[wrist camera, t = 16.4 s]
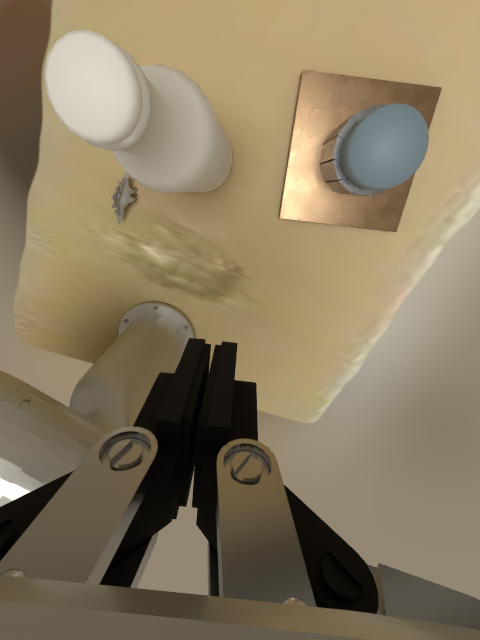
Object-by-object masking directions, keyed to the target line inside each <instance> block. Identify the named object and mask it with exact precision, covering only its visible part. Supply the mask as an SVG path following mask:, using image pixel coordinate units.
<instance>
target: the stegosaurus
mask: <svg viewBox="0 0 480 640" xmlns="http://www.w3.org/2000/svg"><path fill="white" fill-rule="evenodd" d="M118 182H119V181H118ZM135 192H137V188H135V189H134V190H133V189H131V188H130V185H129V175H128V174H127V173H126V174H125V178H124V180H123V179H122V182H119V186H118V187H116V192H115V193H114V195H113V196H112V197H111V198H112V199H113V200H114V201H115V202H114V204H113V206H112V208H114V207H116V208H117V209H116V210H115V212H114V214H115V213H118V214H117V217H118V218H117V219H118V220H119V223H120V221H121V219H122V216H123V212H124V208H125V207H126V206H127V205H128V204H129V203H133V202H134V201H135V199H136V198H137V195H136V196H135V198H133V197H132V196H131V194H134V193H135ZM119 223H118V225H119Z"/></svg>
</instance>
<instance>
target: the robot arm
mask: <svg viewBox="0 0 480 640" xmlns="http://www.w3.org/2000/svg"><path fill="white" fill-rule="evenodd" d="M156 306H157V307H158V308H157V307H156ZM185 325H186V326H188V327H186V326H185ZM210 351H211V344H205V339H196V338H195V334H194V330H193V327H192V325H191V323H190V322H189V320H188V319H187V318H186V316H185V315H184V314H183V313H182V312H180V311H179V310H178V309H176V308H174V307H172V306H171V305H168V304H165V303H161V302H145V303H141V304H138V305H136V306H134V307H133V308H131V309H130V310H129V311H128V312H127V313H126V314H125V315H124V316H123V317H122V319H121V321H120V324H119V328H118V338H117V339H116V340H115V341H114V342H113V343H112V344H111V345H110V347H109V348H108V349H107V350H106V351H105V352H104V353H103V354H102V356H101V357H100V358H99V359H98V360H97V361H96V362H95V363H94V365H93V366H92V367H91V368H90V369H89V370H88V371H87V373H86V374H85V375H84V376H83V377H82V378H81V379H80V381H79V382H78V384H77V385H76V387H75V389H74V391H73V394H72V397H71V401H70V407H69V408H68V407H67V406H65V405H63V404H61V403H60V402H58V401H56V400H55V399H53V398H51V397H50V396H48V395H46V394H44V393H43V392H41V391H39V390H38V389H36V388H34V387H32V386H31V385H29V384H27V383H25V382H23V381H21V380H20V379H18V378H16V377H14V376H12V375H10V374H8V373H6V372H3V371H0V640H480V600H478V599H477V598H474V597H472V596H469V595H467V594H464V593H461V592H458V591H455V590H452V589H450V588H447V587H444V586H442V585H439V584H436V583H433V582H430V581H427V580H424V579H422V578H419V577H416V576H413V575H411V574H408V573H405V572H402V571H400V570H397V569H394V568H391V567H388V566H386V565H383V564H380V563H379V564H378V566H377V568H376V567H373V566H370V565H368V564H366V563H365V561H364V560H363V559H362V558H361V557H360V556H359V555H358V553H357V552H356V551H355V550H354V549H353V548H352V547H350V546H349V545H348V544H347V543H346V542H345V541H344V540H343V539H342V538H341V537H340V536H339V535H338V534H337V533H335V532H334V531H333V530H332V529H331V528H330V527H329V526H328V525H327V524H326V523H325V522H324V521H323V520H321V519H320V518H319V517H318V516H317V515H316V514H315V513H314V512H313V511H312V510H311V509H310V508H308V507H307V505H305V504H304V503H303V502H302V501H301V500H300V499H299V498H298V497H297V496H296V495H295V494H294V493H293V492H291V491H290V490H289V489H288V488H287V487H286V486H285V485H284V484H283V481H282V477H281V473H280V469H279V465H278V462H277V460H276V458H275V455H274V454H273V452H272V451H271V450H270V449H269V448H268V447H267V446H265V445H264V444H262V443H260V442H258V432H257V431H258V428H257V393H256V383H255V382H246V381H237V380H234V378H235V366H236V354H237V343H232V342H223V341H222V344H221V345H215V349H214V353H213V358H212V362H211V367H210V371H209V363H210ZM176 368H177V369H176ZM175 369H176V371H175ZM174 371H175V373H174ZM194 466H195V470H194ZM193 471H194V485H193V500H192V507H194V508H198V510H197V522H196V524H197V526H198V527H199V529H200V530H201V532H202V533H203V534H204V536H205V537H206V538H207V540H208V596H206V595H196V594H186V593H177V592H167V591H157V590H146V589H137V587H138V584H139V582H140V580H141V577H142V575H143V572H144V570H145V567H146V565H147V563H148V560H149V558H150V555H151V553H152V550H153V548H154V545H155V543H156V540H157V536H158V531H160V530H161V529H162V528H164V527H165V526H166V525H168V524H169V523H170V522H171V521H172V519H176V518H177V513H178V509H179V506H185V507H186V505H187V501H188V496H189V490H190V485H191V481H192V476H193Z"/></svg>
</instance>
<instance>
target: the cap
mask: <svg viewBox="0 0 480 640" xmlns="http://www.w3.org/2000/svg"><path fill="white" fill-rule="evenodd" d="M428 140H429V135H428V128H427V124H426V122H425V120H424V118H423V116H422V115H421V114H420V112H419V111H417V110H416V109H415V108H413V107H412V106H409V105H406V104H398V103H397V104H390V105H386V106H384V107H381V108H380V109H378V110H376V111H375V112H373V113H371V114H370V115H368V116H367V117H365V118H363V119H362V120H360V121H359V122H358V123H356V124H355V125H354V126H353V127H352V128H351V130H350V131H349V132H348V134H347V136H346V137H345V139H344V142H343V144H342V148H341V154H340V162H341V168H342V171H343V173H344V175H345V177H346V178H347V179H348V180H349V181H350V182H351V183H352V184H354V185H355V186H358V187H360V188H390V187H394V186H397V185H399V184H401V183H403V182H404V181H406V180H407V179H408V178H410V177H411V176H412V175H413V174H414V173H415V172H416V170H417V169H418V168H419V166H420V165H421V163H422V161H423V159H424V157H425V154H426V151H427V147H428Z"/></svg>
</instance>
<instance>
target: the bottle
mask: <svg viewBox="0 0 480 640" xmlns="http://www.w3.org/2000/svg"><path fill="white" fill-rule="evenodd" d="M44 77H45V83H46V90H47V96H48V98H49V100H50V103H51V105H52V107H53V110H54V112H55V114H56V115H57V116H58V118H59V119H60V120H61V121H62V123H63V124H64V125H65V126H66V128H67V129H68V130H70V131H71V132H73V133H74V134H76V135H77V136H78V137H80V138H81V139H84V140H85V141H87V142H88V143H90V144H91V145H92V146H95V147H99V148H102V149H105V150H109V151H112V152H113V154H114V157H115V158H116V160H117V161H118V162H119V163H120V165H121V166H122V167H123V169H124V170H125V171H126V173H127V174H128V175H129V176H130V178H132V179H133V180H135V181H136V182H137V183H139V184H140V185H142V186H143V187H145V188H146V189H149V190H153V191H156V192H160V193H164V194H165V193H183V192H209V191H212V190H214V189H216V188H218V187H220V186H221V185H222V184H223V182H224V181H225V180H226V179H227V178H228V176H229V173H230V171H231V168H232V150H231V146H230V142H229V140H228V138H227V137H226V135H225V133H224V131H223V129H222V127H221V125H220V123H219V121H218V119H217V117H216V114H215V112H214V110H213V108H212V106H211V104H210V103H209V101H208V99H207V98H206V96H205V95H204V93H203V91H202V90H201V88H200V86H199V85H198V84H197V83H195V82H194V81H193V80H192V79H190V78H189V77H188V76H187V75H186V74H184V73H183V72H182V71H180V70H177V69H173V68H170V67H167V66H164V65H159V64H156V65H148V66H141V67H139V65H138V64H137V62H136V61H135V59H134V58H133V57H132V56H131V55H130V54H129V53H128V52H126V51H125V50H124V49H123V48H121V47H120V46H119V45H118V44H116V43H114V42H111V41H110V40H108V39H107V38H106V37H104V36H103V35H102V34H98V33H95V32H92V31H89V30H86V29H84V30H77V31H70V32H68V33H66V34H65V35H64V36H62V37H61V38H59V39H58V40H57V41H55V43H54V45H53V47H52V49H51V51H50V52H49V54H48V56H47V61H46V68H45V75H44Z"/></svg>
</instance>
